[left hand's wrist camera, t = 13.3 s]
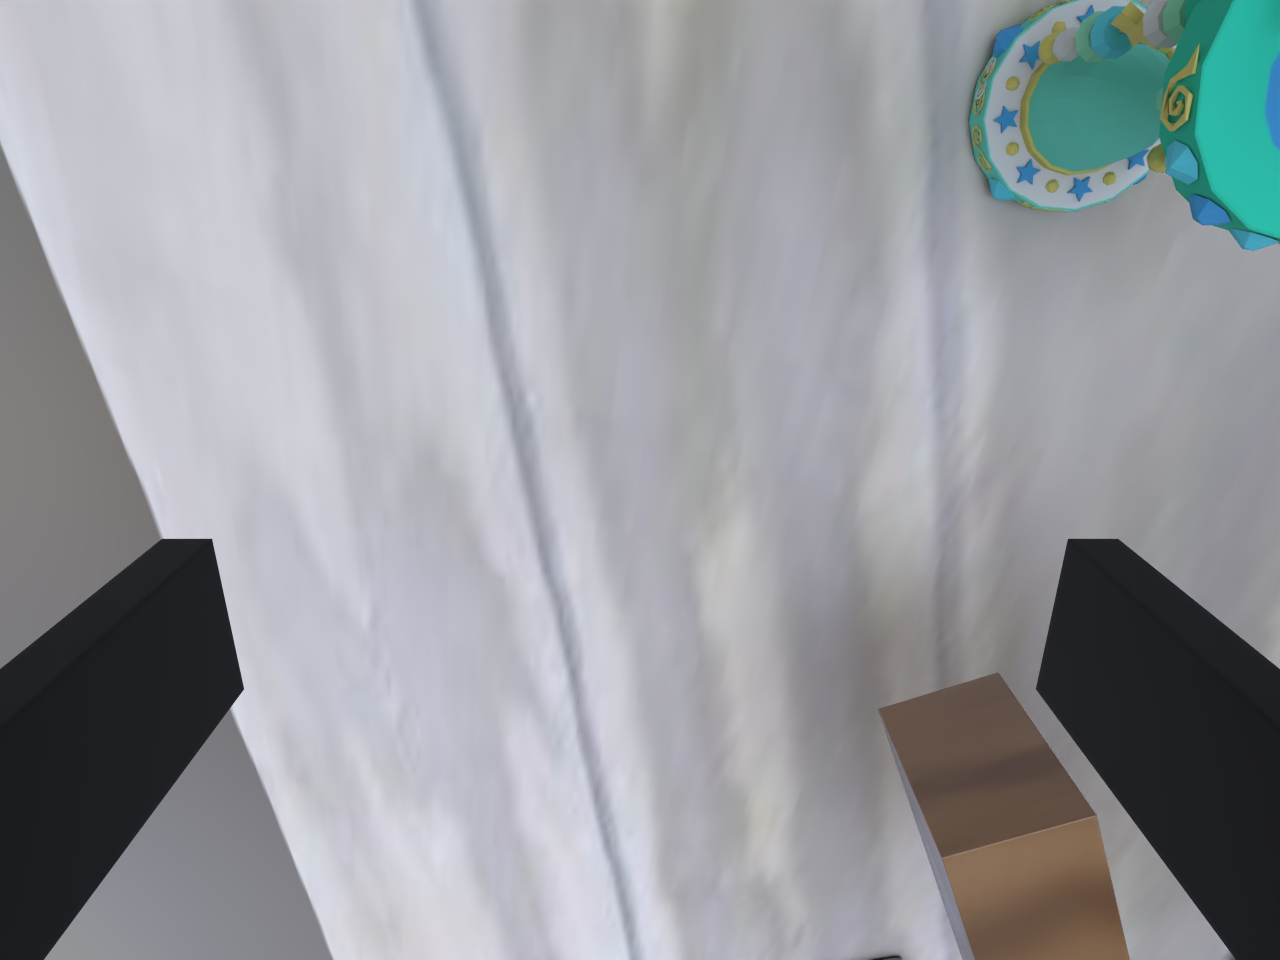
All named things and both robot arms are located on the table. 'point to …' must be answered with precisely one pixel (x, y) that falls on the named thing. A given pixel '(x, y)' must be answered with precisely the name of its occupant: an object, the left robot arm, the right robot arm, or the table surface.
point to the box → (1004, 828)
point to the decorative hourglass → (1138, 108)
